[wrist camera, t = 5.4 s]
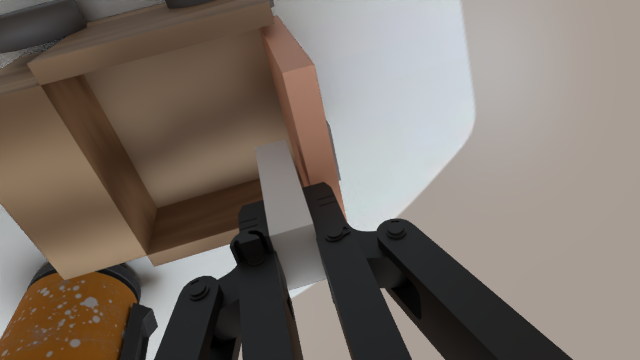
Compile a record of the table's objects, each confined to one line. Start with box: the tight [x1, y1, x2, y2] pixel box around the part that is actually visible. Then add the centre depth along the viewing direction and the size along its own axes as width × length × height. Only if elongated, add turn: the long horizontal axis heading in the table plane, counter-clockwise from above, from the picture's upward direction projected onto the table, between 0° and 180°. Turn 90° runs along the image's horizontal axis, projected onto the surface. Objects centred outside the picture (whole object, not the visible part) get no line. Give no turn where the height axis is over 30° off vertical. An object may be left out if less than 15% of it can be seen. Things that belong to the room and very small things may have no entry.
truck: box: [0, 0, 304, 280], centre depth 25 cm, size 16×17×10 cm
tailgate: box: [259, 16, 347, 221], centre depth 21 cm, size 10×2×10 cm, turn 11°
